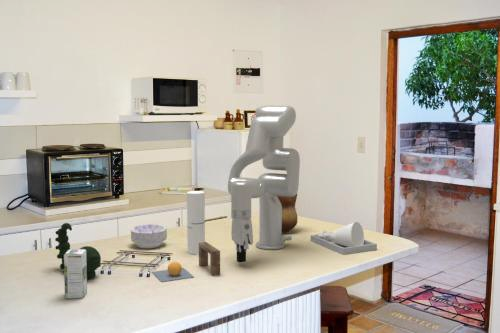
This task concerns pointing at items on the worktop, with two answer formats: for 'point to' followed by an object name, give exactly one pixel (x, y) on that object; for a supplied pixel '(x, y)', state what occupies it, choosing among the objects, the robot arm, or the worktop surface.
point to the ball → (174, 268)
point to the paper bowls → (148, 235)
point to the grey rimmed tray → (348, 250)
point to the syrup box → (75, 273)
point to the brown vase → (288, 212)
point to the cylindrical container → (195, 220)
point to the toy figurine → (91, 253)
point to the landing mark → (165, 275)
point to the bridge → (214, 257)
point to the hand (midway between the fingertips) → (241, 261)
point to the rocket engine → (346, 235)
